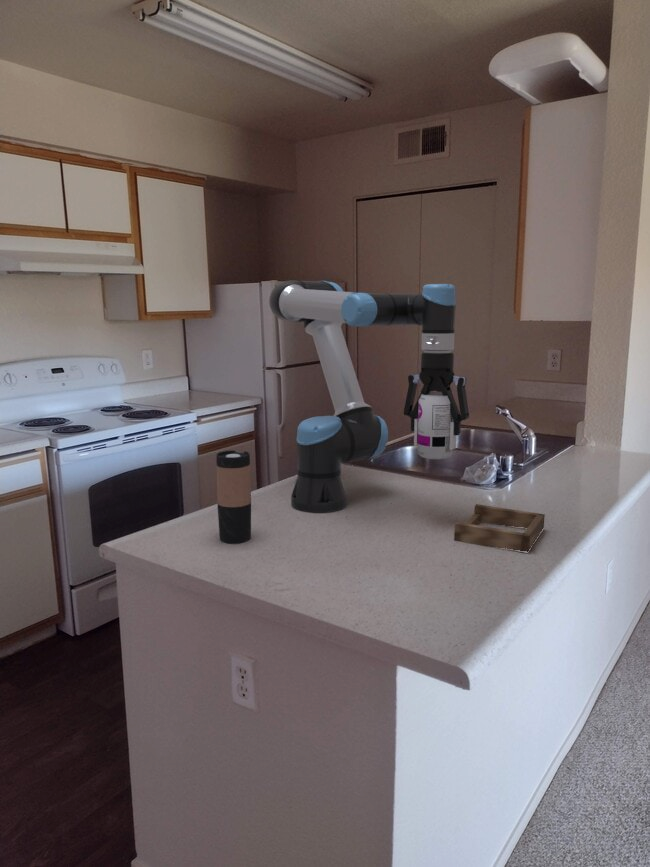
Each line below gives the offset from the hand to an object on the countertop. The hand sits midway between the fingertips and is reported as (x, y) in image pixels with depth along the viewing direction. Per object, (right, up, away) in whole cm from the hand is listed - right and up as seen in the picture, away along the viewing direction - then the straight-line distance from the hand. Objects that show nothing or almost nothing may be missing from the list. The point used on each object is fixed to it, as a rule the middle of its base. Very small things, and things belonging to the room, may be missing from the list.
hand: (434, 446), depth 155 cm
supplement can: (0, -2, +1) cm, 2 cm away
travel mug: (-47, -21, -6) cm, 52 cm away
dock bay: (+14, -21, -4) cm, 26 cm away
